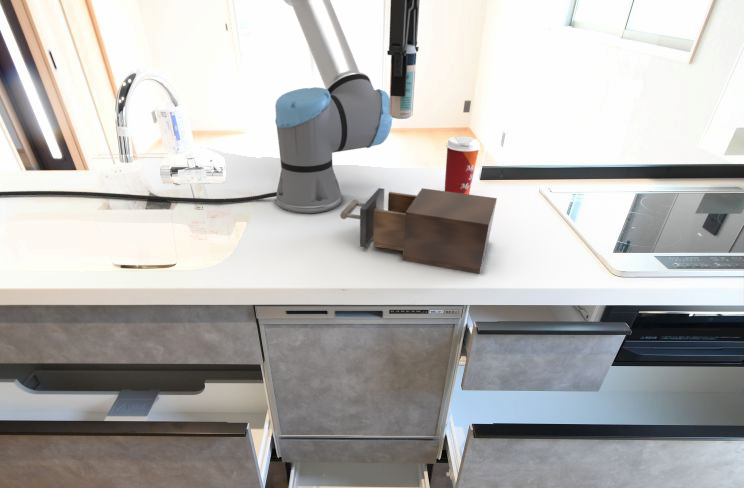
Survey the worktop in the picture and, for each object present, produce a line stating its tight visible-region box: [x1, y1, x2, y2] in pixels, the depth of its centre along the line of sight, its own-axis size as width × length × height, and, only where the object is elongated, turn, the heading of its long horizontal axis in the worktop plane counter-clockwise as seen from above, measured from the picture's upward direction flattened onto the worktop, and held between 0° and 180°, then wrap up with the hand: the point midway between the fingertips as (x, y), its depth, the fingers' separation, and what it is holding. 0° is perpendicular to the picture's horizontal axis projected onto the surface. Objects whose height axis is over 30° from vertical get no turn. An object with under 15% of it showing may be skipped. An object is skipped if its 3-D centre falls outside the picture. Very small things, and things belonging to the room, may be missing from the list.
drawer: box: [339, 187, 418, 252], centre depth 87 cm, size 18×11×8 cm, turn 71°
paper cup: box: [444, 135, 481, 195], centre depth 104 cm, size 8×8×14 cm
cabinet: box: [402, 187, 498, 274], centre depth 85 cm, size 15×13×10 cm
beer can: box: [389, 44, 418, 120], centre depth 85 cm, size 5×5×12 cm
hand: (401, 93), depth 86 cm, fingers closed on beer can, 5 cm apart
